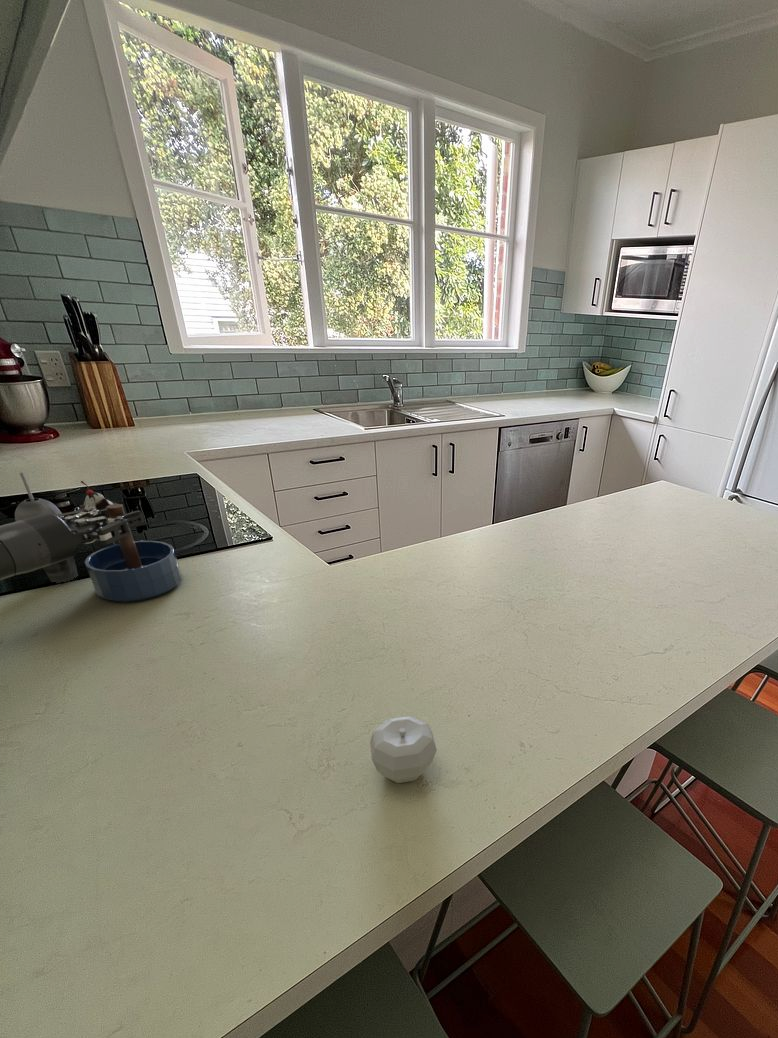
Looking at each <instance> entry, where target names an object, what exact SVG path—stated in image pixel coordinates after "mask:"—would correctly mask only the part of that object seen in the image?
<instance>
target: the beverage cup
mask: <svg viewBox="0 0 778 1038" xmlns="http://www.w3.org/2000/svg"><path fill="white" fill-rule="evenodd" d="M19 476H20V477H21V480H22V482H23V485H24V488H25V490H26V492H27V495H28V498H26V499H24V500H22V501H21V502H20V503H19V504H18V505H17V507H16V508H15V511H14V521H15V522H16V521H20V520H24V519H27V518H31V517H35V516H39V515H42V514H46V513H51V514H54V515H58V514H63V512H61V510H60V509H59V508H58V507H57V506H56V505H55V504H54V503H53V502H51V501H49V500H47V499H44V498H40V497H34V495H33V493H32V491H31V488H30V486H29V483H28V481H27V479H26V475H25V474H24V472H23V471H22V472H19ZM74 557H75V556H74ZM74 557H72V558H69V559H67V560H64V561H61V562H58V563H55V564H52V565H49V566H46V567H43V568H42V569H43V571H44V573H45V575H47V577H48V579H49V581H50V582H51V583H53V582H56V583H55V584H62V583H61V582H64V583H68V582H71V581H70V580H72V581H74V580H75V579H74V578H76V577H77V576H78V577H79V573H78V569H77V564H76V560H75V558H74ZM78 577H77V578H78ZM77 578H76V579H77ZM73 579H74V580H73ZM67 581H68V582H67Z"/></svg>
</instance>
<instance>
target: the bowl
mask: <svg viewBox="0 0 778 1038" xmlns="http://www.w3.org/2000/svg"><path fill="white" fill-rule="evenodd" d="M134 542H135V545H136V548H137V551H138V554H139V558H140V561H141V564H142V565H146V566H142V567H138V568H133V569H125V568H127V566H126V563H125V560H124V557H123V554H122V551H121V548H120V545H119V543H115V544H116V545H113V546H109V547H108V546H106V547H103V548H100V549H99V550H96V551H94V552H92V553H90V554H89V555H88V556H87V557H86V558H85V560H84V566H85V568H86V570H87V574H88V576H89V578H90V582H91V584H92V587H93V589H94V591H95V593H96V596H98V597H99V598H102V599H104V600H109V601H114V602H118V603H119V602H121V603H130V602H131V603H132V602H140V601H141V602H142V601H146V600H150V599H154V598H157V597H159V596H162V595H165V594H167V593H168V592H170V591H172V590H173V589H174V588H175V587H176V586H177V585H179V583H181V581H182V576H183V575H182V572H181V568H180V564H179V561H178V558H177V555H176V551H175V548H174V547H173V546H172V544H170V543H167V542H164V541H158V540H137V541H136V540H134ZM124 569H125V570H124Z"/></svg>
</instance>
